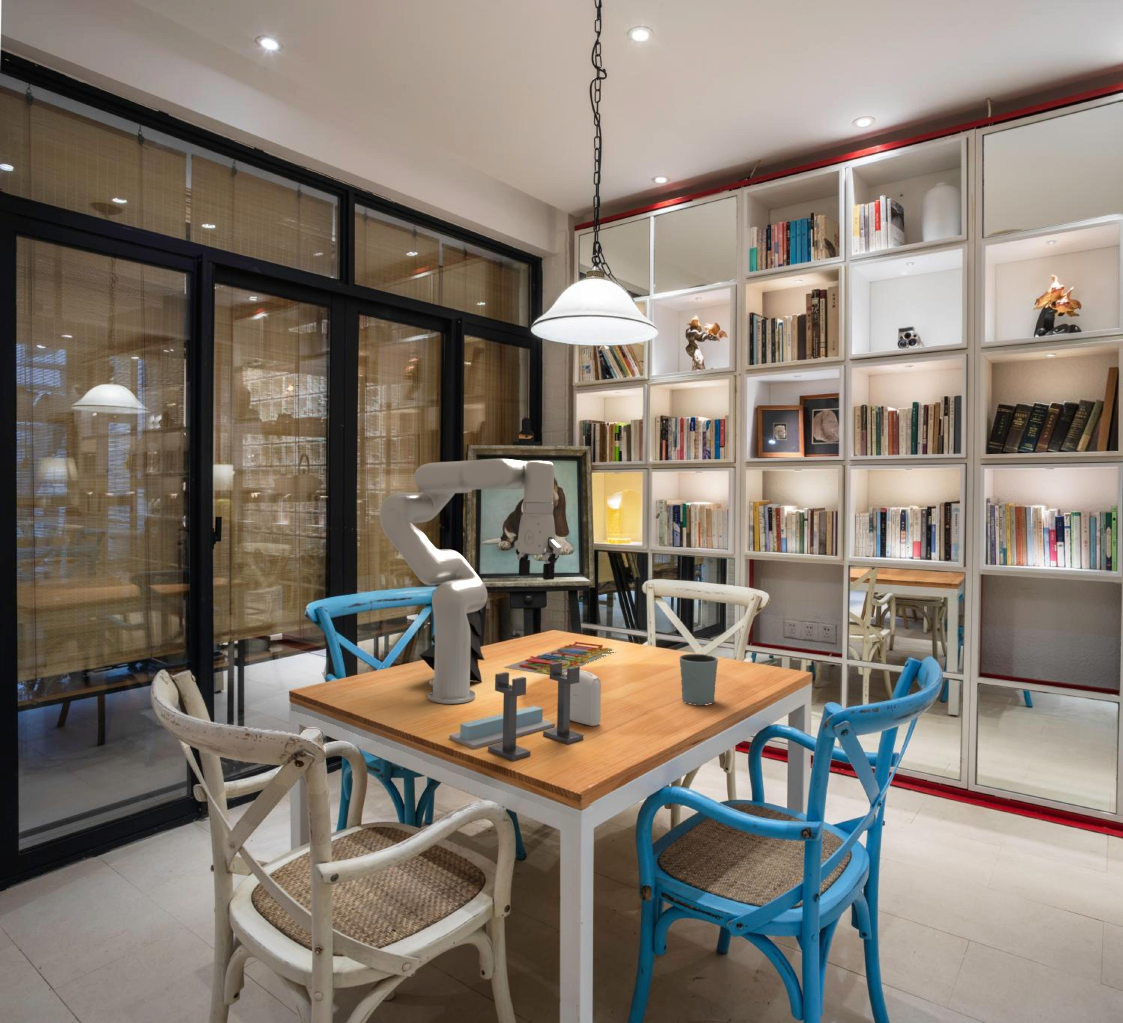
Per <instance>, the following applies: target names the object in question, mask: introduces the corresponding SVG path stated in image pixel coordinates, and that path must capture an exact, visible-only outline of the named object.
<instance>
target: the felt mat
mask: <svg viewBox="0 0 1123 1023" xmlns="http://www.w3.org/2000/svg"><path fill="white" fill-rule="evenodd" d="M555 725H556V723H555V722H551V721H548V720H545V719H543V718H542V721H541V722H537V723H534V724H530V725H526V726H522V727H518V728H516V738H520V737H522V736H526V735H530V734H533V733H536V732H537V733H538V732H540V731H546V730H549V729H553V728H556V726H555ZM449 740H451V741H454V742H456V743H458V744H461V745H463V746H465V747H469V748H471V749H473V750H475V749H479V748H482V747H487V746H491V745H495V744H499V743H502V742H503V732H499V733H495V734H492V735H488V736H484V737H480V738H476V739H472V740H469V741H468V740H466V739H463V738H461V737H460V732H457V733H453V734H452V733H451V734H450V735H449Z"/></svg>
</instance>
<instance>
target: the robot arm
mask: <svg viewBox="0 0 1123 1023" xmlns="http://www.w3.org/2000/svg"><path fill="white" fill-rule="evenodd" d="M413 482H414V485H415V487H416V488H417V489H418V490H419V491H420V492H397V493H392V494H390V495H388V496H387V497H385V499H384V500H383V502H382V503H381V506H380V510H379V522H380V525H381V529H382V531H383V533H384V535H385V536H386V538H387V539H388V541H390V543H391V544H392V545H393V547H394V548H396V550H397V551H398V552H399V553H400V555H401V557H402V558H403V559H404V561H405V563H407V565H408V566H409V567H410V569H411V570H412V572H413V573H414V575H415V576H416V577H417V578H418V580H419V581H420V582H421V583H422V584H424V585H427V586H436V585H437V587H436V588H435V589H434V591H433V593H432V595H431V596H432V597H431V607H432V612H433V619H434V635H435V643H434V644H435V665H434V670H433V672H434V673H433V679H430V680H429V681H428V684H429V685H430V686H432V690H431V691H429V693H428V694H427V699H428V700H429V701H430V702H433V703H437V704H442V705H443V704H445V705H448V704H449V705H457V704H465V703H467V702H471V701H473V700H475V699H476V692H475V691H474V690H472V689H471V688H470V687H471V685H470V684H471V680H470V647H471V632H470V625H469V622H468V618H467V613H471V612H475V611H478V610H480V609H481V608H482V607H483V608H484V607H485V606H486V604H487V602H488V589H487V587H486V585H485V583H484V582H482V580H483V579H482V580H481V579H480V578H481V577H480V576H479V575H478V573H476V571H475V570H474V568H473V567H472V566H471V565H470V563H469V562H468V561H467V560H466V558H465V557H464V556H463V555H462V554H461V553H459V552H458V551H457V550H453V549H449V548H448V549H446V548H444V549H443V548H442V549H439V548H437V547H436V546H435V545H434V544H433V543H432V542H431V541H430V539H429V538H428V536H427V535H426V534H425V533H424V532H423V531H422V530H421V529H419V527H417V526H415V525H414V524H413V523H415V524H416V523H426V522H429V521H431V520H433V519H435V517H436V516H437V515H438V514H439V513H440V512H441V511H442V510H443V509H444V507H446V505H447V504H448V503H449V501H450V500H451V499H452V498H453V497H454V496H455V494H467V493H471V492H472V491H473V490H474V491H475V490H489V489H490V490H494V489H495V490H496V489H497V490H498V489H499V490H523V513H522V514H521V516H520V522H519V528H518V534H517V536H518V537H517V540H515V541H514V548H515V553H516V555H517V561H518V576H520V577H521V576H522V577H523V576H529V575H530V574H531V559H530V556H531V555H532V556H541V557H542V558H543V561H544V563H543V566H542V567H543V568H542V579H543V581H544V580H545V581H547V580H554V579H555V564H557V560H558V559H559V557H560V553H561V551H562V546H561V545H560V544H559V543H557V541H556V526H555V517H554V494H555V493H554V492H555V491H554V488H555V465H554V464H553V462H551V461H545V460H544V461H543V460H529V461H525V460H524V461H523V460H517V459H509V458H487V459H474V460H460V461H459V460H458V461H439V462H428V463H425V464H422V465H420V466H419V467H417V469H416V470H415V472H414V475H413Z"/></svg>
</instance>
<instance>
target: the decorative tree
mask: <svg viewBox="0 0 1123 1023" xmlns="http://www.w3.org/2000/svg"><path fill="white" fill-rule="evenodd" d="M479 578H480V579H481V580H482V582H483V578H484V577H483V576H481V577H479ZM483 583H484V582H483ZM483 608H484V607H482V608H481V609H480V610H478V611H475V612H471V613H467V618H468V622H469V625H470V632H471V647H470V682H476V683H477V682H478V683H482V682H483V681H482V675H481V674H482V673H481V671H480V668H479V661H485V658H484V656H483V653H482V649H481V648H482V647H481V643H480V639H479V637H482V625H481V624H482V623H481V617H480V614H483V610H484V609H483ZM430 638H431V640H432V642H433V644H432V645H430V647H428V648H427V649H426V650H425V651H423V652H421V653H420V654H419V657H420V658H421V659H422V660H423V662H425V663H426V664H427V665H428V667H430V668H431V670H433V671H434V665H435V634H434V635H433V636H431V637H430Z"/></svg>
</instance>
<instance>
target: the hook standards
mask: <svg viewBox="0 0 1123 1023" xmlns="http://www.w3.org/2000/svg"><path fill="white" fill-rule="evenodd" d="M580 667H581V666H580ZM580 667H578V666H575V667H570V668H567V675H566V673H562V662H556V663H551V664H550V675H549V680H552V681H556V682H557V711H556V712H557V715H556V716H557V719H556V722H557V723H556V727H552V728H548V729H545V730H542V731H543V732H542V736H543V737H546V738H549V739H552V740H554V741H557V742H560V743H561V744H562V743H563V744H566V745H570V744H574V743H576V742H577V743H578V742H580V741H584V734H582V733H578V732H576V731H573V730H570V728H571V727H570V726H571V724H570V721H571V720H570V684H574V683H579V675H580V670H581V669H580ZM494 675H495V676H494V677H495V678H494V680H495V681H494V691H495V692H499V693H501V694H503V709H502V710H503V711H502V712H503V713H502V714H503V741H501V742H498V743H494V744H491V745H487V746H488V747H487V751H488V752H489V753H491V754H494V755H497V756H499V757H502V758H504V759H506V760H509V761H511V762H514V761H517V760H521V759H524V758H527V757H530V756H531V750H529V749H527V748H524V747H522V746H519V745H517V737H516V717H517V710H518V709H517V708H518V704H517V703H518V697H521V696H525V695H527V677H525V676H522V677H515V678H512V680H511V682H512V683H511V684H510V672H507V671H505V672H499V673H495V674H494Z"/></svg>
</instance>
